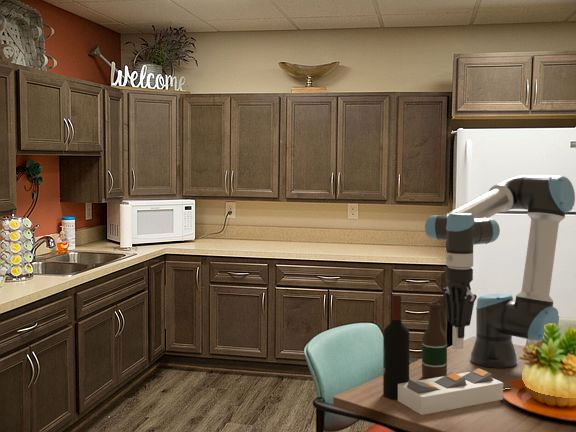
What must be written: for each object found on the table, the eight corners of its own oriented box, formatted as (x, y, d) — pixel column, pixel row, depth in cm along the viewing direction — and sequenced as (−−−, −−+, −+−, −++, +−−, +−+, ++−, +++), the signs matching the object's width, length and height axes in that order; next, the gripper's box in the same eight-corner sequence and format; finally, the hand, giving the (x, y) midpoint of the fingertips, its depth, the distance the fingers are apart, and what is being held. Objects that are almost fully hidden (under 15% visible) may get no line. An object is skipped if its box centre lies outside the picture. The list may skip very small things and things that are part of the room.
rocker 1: (424, 390, 195) (426, 382, 195) (437, 396, 189) (439, 388, 189) (407, 386, 192) (409, 378, 192) (419, 393, 187) (421, 384, 187)
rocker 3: (479, 374, 202) (477, 367, 202) (492, 380, 197) (491, 373, 196) (463, 383, 200) (461, 376, 200) (476, 389, 195) (474, 382, 194)
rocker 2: (453, 378, 199) (451, 371, 198) (466, 385, 193) (464, 377, 193) (436, 388, 196) (434, 380, 196) (449, 394, 191) (447, 387, 190)
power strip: (496, 383, 209) (496, 367, 209) (524, 395, 198) (524, 378, 198) (397, 400, 195) (397, 383, 194) (421, 415, 184) (421, 397, 183)
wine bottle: (392, 401, 194) (392, 299, 192) (378, 393, 201) (378, 294, 199) (414, 397, 197) (414, 296, 195) (399, 389, 204) (400, 291, 202)
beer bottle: (447, 381, 211) (447, 306, 209) (421, 380, 212) (422, 305, 210) (446, 373, 218) (447, 301, 216) (421, 372, 220) (422, 300, 218)
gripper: (434, 264, 197) (433, 344, 199) (463, 271, 185) (461, 355, 187) (455, 263, 200) (454, 341, 202) (485, 269, 188) (483, 352, 190)
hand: (457, 348), depth 194 cm, fingers closed
